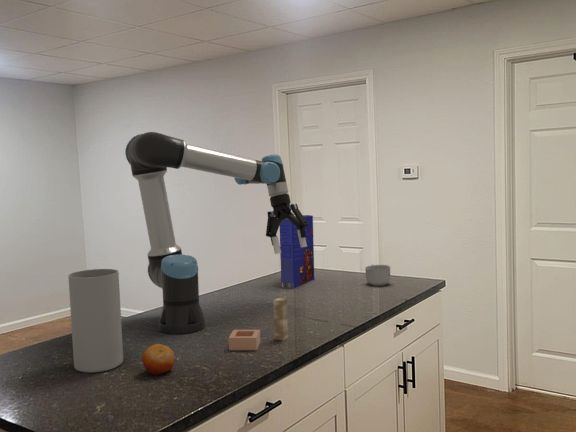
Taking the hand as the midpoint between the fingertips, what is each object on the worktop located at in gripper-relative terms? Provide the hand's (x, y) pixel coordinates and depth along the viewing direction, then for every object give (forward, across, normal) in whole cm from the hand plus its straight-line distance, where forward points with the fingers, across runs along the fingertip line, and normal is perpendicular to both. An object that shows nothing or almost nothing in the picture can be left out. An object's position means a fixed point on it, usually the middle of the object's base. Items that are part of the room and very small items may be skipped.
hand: (290, 250), depth 205 cm
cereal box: (+14, +29, -32) cm, 45 cm away
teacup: (+21, 0, -50) cm, 55 cm away
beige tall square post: (+27, -19, +33) cm, 46 cm away
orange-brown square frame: (+26, -15, +44) cm, 54 cm away
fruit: (+26, -13, +72) cm, 78 cm away
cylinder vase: (+22, +4, +80) cm, 83 cm away
